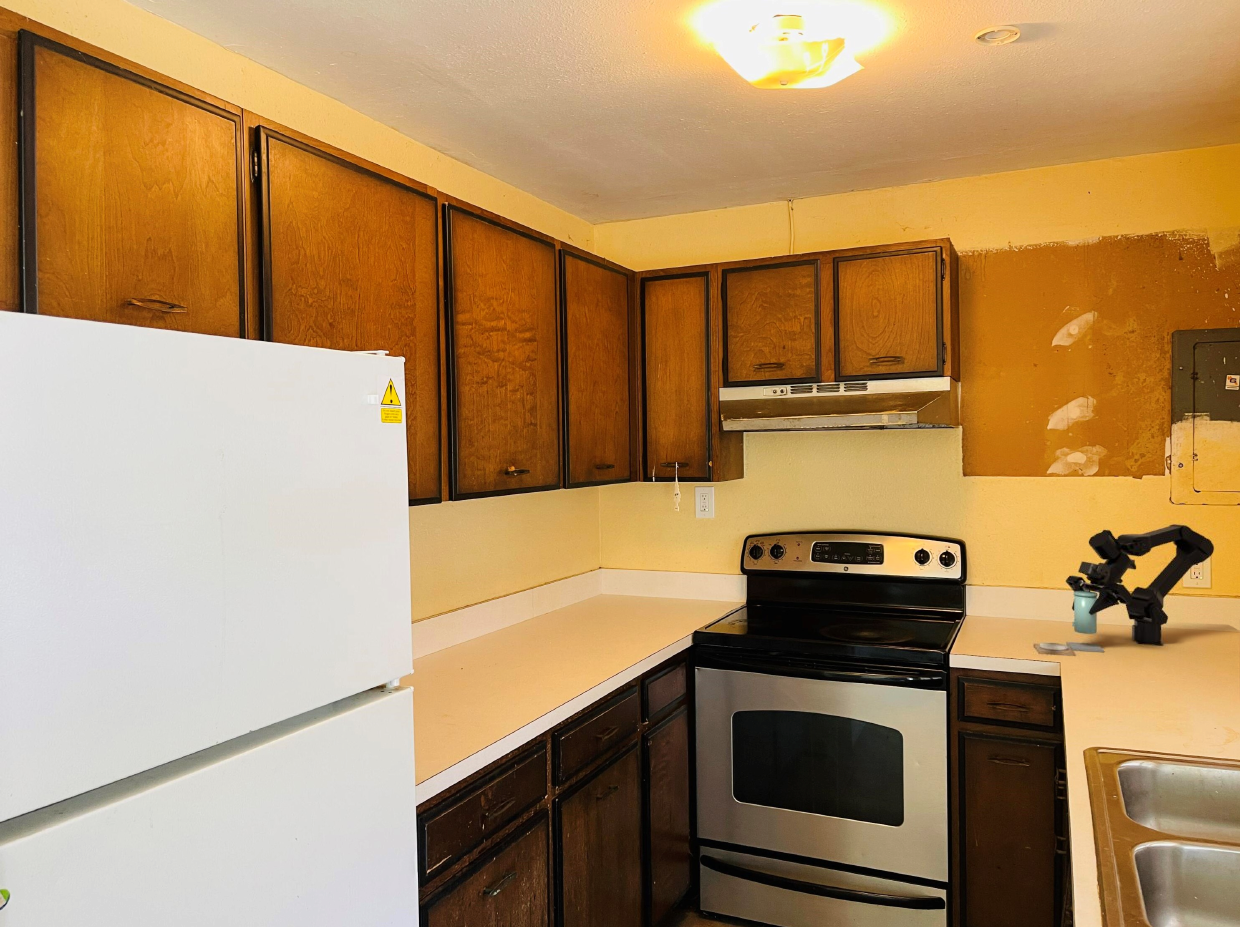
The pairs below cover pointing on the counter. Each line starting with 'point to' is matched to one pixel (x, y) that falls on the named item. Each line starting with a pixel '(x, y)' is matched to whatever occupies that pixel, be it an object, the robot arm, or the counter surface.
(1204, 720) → the counter surface
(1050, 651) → the brown square coaster
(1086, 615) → the teal cylindrical jar
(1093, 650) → the mat
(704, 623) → the counter surface
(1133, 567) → the robot arm
